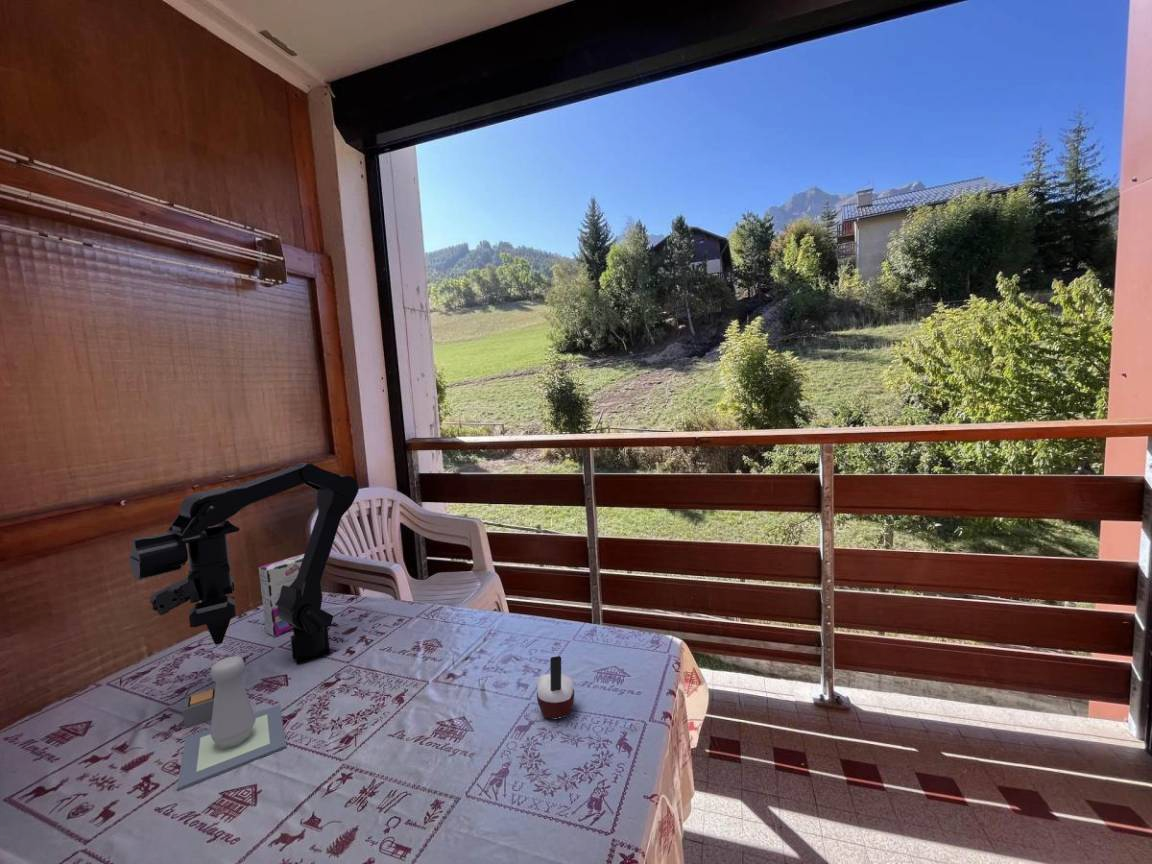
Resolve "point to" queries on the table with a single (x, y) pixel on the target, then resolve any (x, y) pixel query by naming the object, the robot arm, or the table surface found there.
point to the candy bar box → (277, 591)
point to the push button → (202, 697)
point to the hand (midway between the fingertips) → (218, 643)
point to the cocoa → (555, 691)
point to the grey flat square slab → (230, 749)
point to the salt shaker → (230, 704)
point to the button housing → (197, 711)
